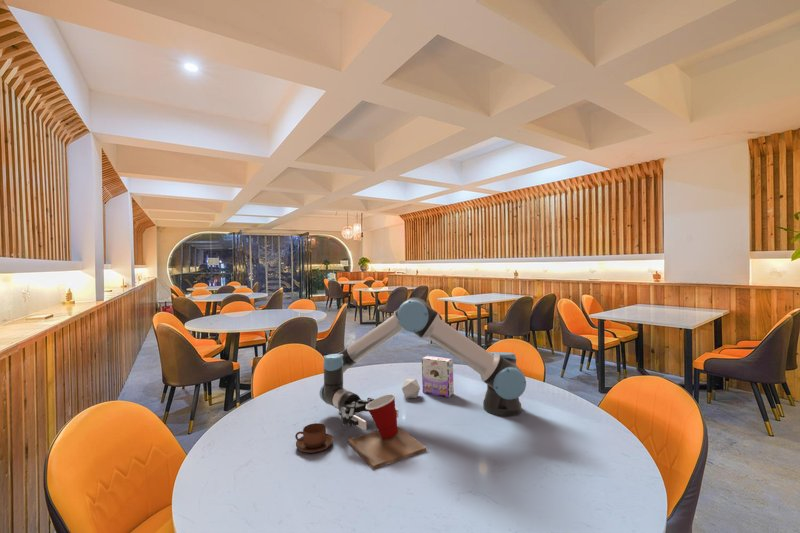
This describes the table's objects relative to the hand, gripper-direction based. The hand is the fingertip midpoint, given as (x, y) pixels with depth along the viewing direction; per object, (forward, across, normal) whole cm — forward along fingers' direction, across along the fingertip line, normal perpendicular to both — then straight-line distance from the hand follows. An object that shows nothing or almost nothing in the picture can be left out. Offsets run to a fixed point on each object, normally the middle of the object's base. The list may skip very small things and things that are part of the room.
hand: (382, 419), depth 116 cm
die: (-26, -37, -9) cm, 46 cm away
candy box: (-20, -49, -9) cm, 54 cm away
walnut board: (+1, 0, -8) cm, 9 cm away
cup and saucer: (-15, +17, -9) cm, 24 cm away
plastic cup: (-1, -4, -7) cm, 8 cm away
